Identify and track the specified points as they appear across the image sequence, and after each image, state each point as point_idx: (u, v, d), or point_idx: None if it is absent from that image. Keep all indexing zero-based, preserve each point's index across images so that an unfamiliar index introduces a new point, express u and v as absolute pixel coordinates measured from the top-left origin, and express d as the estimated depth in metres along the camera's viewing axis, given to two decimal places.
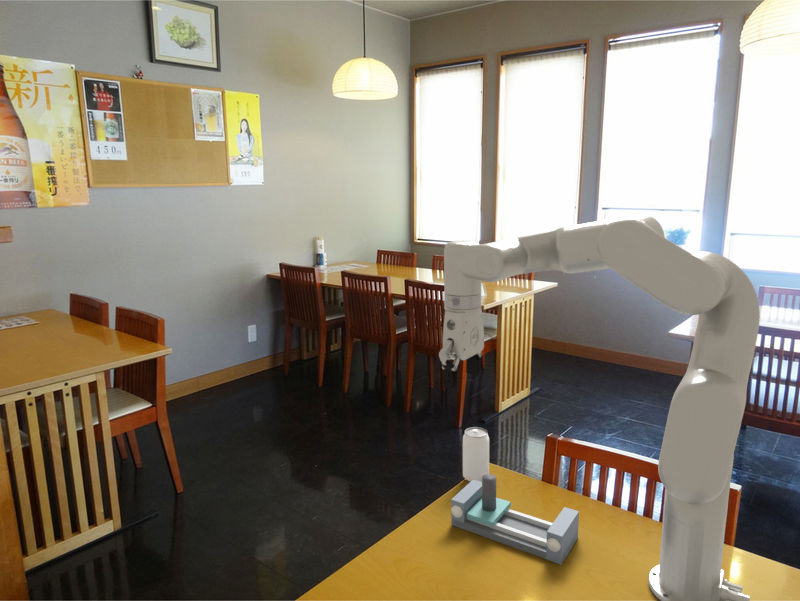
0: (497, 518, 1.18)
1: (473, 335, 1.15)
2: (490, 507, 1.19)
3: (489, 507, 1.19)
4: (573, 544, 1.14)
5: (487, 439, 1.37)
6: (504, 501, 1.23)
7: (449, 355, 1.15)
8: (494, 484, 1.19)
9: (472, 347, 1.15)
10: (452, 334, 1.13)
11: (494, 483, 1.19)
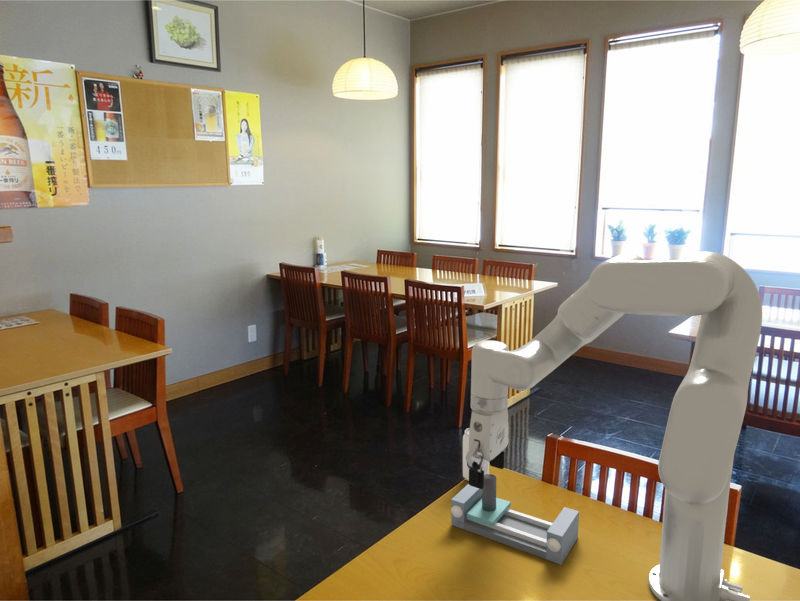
0: (497, 518, 1.18)
1: (499, 435, 1.16)
2: (490, 507, 1.19)
3: (489, 507, 1.19)
4: (573, 544, 1.14)
5: None
6: (504, 501, 1.23)
7: (475, 455, 1.15)
8: (494, 484, 1.19)
9: (498, 447, 1.16)
10: (479, 436, 1.13)
11: (494, 483, 1.19)
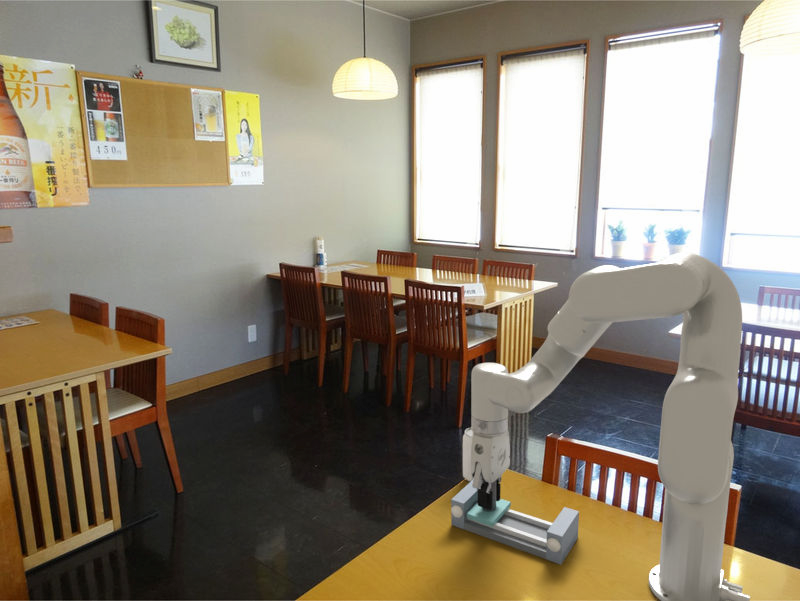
0: (497, 518, 1.18)
1: (500, 456, 1.17)
2: None
3: None
4: (573, 544, 1.14)
5: None
6: (504, 501, 1.23)
7: None
8: (494, 484, 1.19)
9: (499, 468, 1.17)
10: (480, 458, 1.14)
11: (494, 483, 1.19)
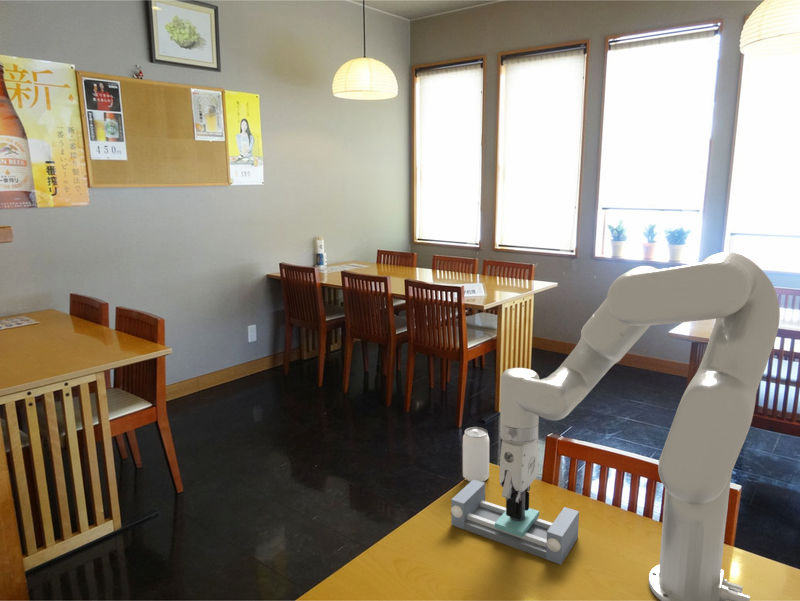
0: (526, 528, 1.14)
1: (530, 465, 1.13)
2: None
3: None
4: (573, 544, 1.14)
5: (487, 439, 1.37)
6: (532, 510, 1.20)
7: None
8: (523, 493, 1.15)
9: (529, 477, 1.13)
10: (510, 466, 1.10)
11: (523, 492, 1.15)
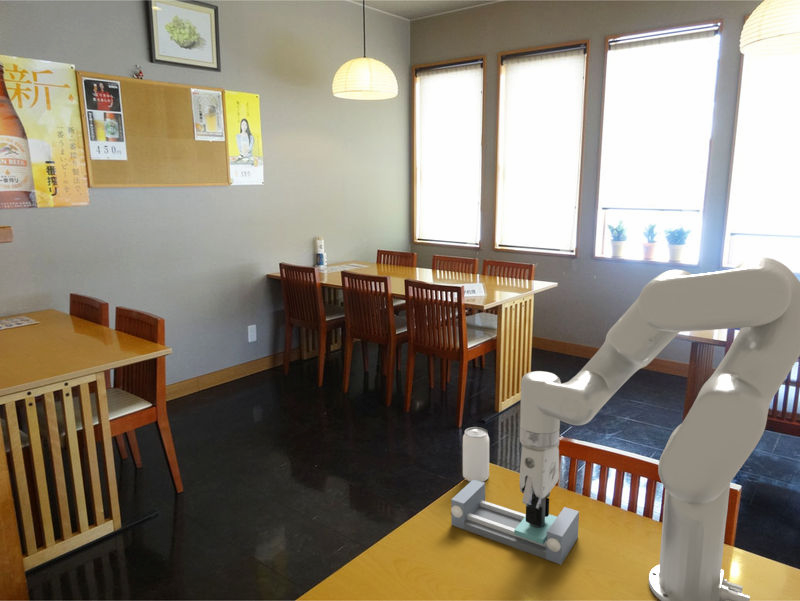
0: None
1: (551, 470, 1.10)
2: None
3: None
4: (573, 544, 1.14)
5: (487, 439, 1.37)
6: (552, 516, 1.17)
7: None
8: (543, 499, 1.13)
9: (550, 483, 1.11)
10: (531, 472, 1.08)
11: (543, 498, 1.13)
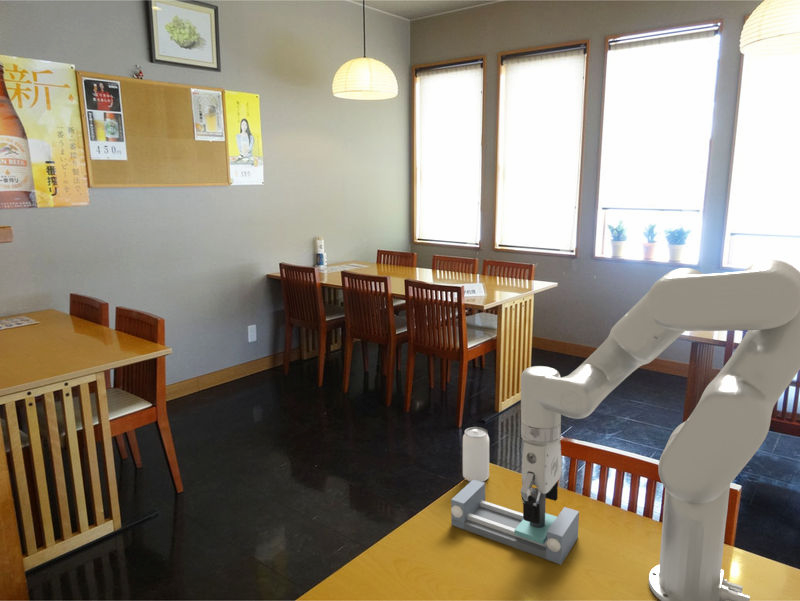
0: None
1: (553, 465, 1.10)
2: (539, 523, 1.13)
3: None
4: (573, 544, 1.14)
5: (487, 439, 1.37)
6: (552, 516, 1.17)
7: None
8: (544, 499, 1.13)
9: (552, 478, 1.10)
10: (533, 468, 1.08)
11: (544, 498, 1.13)
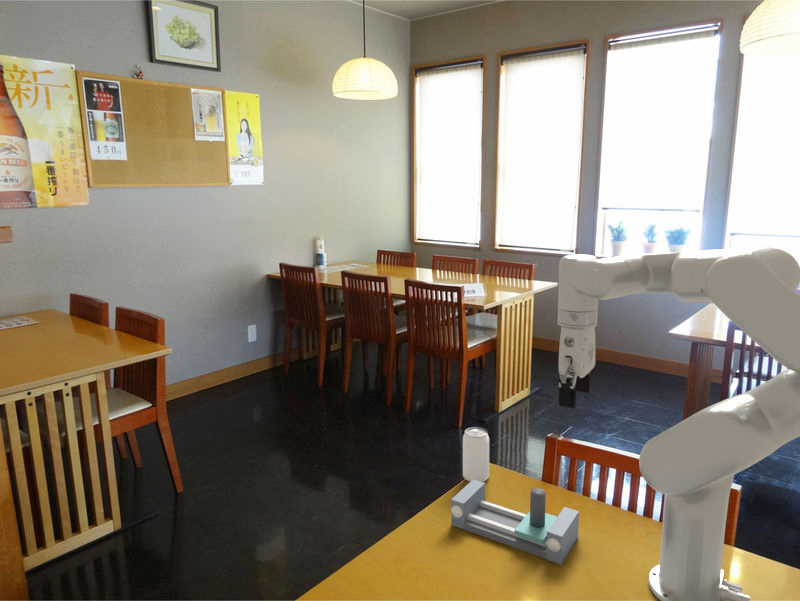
0: None
1: (589, 352, 1.12)
2: (539, 523, 1.13)
3: (538, 523, 1.13)
4: (573, 544, 1.14)
5: (487, 439, 1.37)
6: (552, 516, 1.17)
7: None
8: (544, 499, 1.13)
9: (588, 364, 1.12)
10: (570, 351, 1.09)
11: (544, 498, 1.13)
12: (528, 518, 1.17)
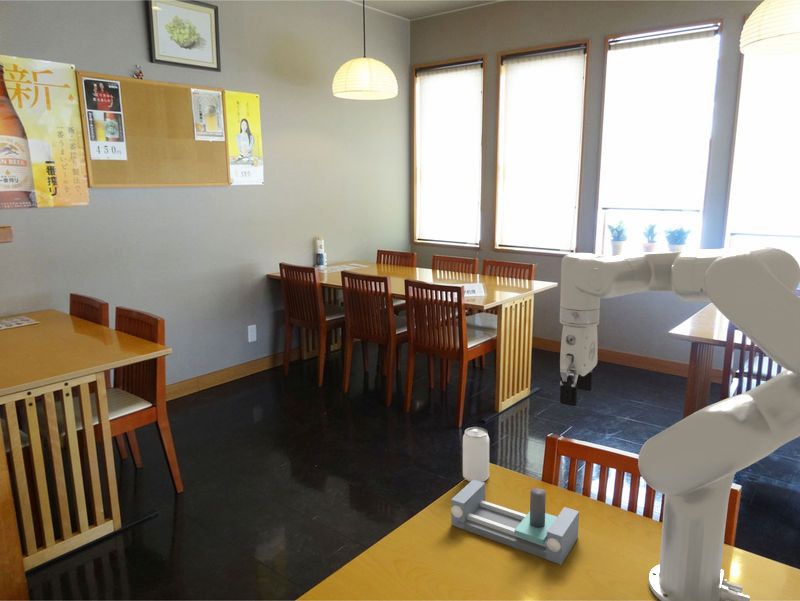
0: None
1: (591, 350, 1.12)
2: (539, 523, 1.13)
3: (538, 523, 1.13)
4: (573, 544, 1.14)
5: (487, 439, 1.37)
6: (552, 516, 1.17)
7: None
8: (544, 499, 1.13)
9: (590, 362, 1.12)
10: (572, 349, 1.09)
11: (544, 498, 1.13)
12: (528, 518, 1.17)
